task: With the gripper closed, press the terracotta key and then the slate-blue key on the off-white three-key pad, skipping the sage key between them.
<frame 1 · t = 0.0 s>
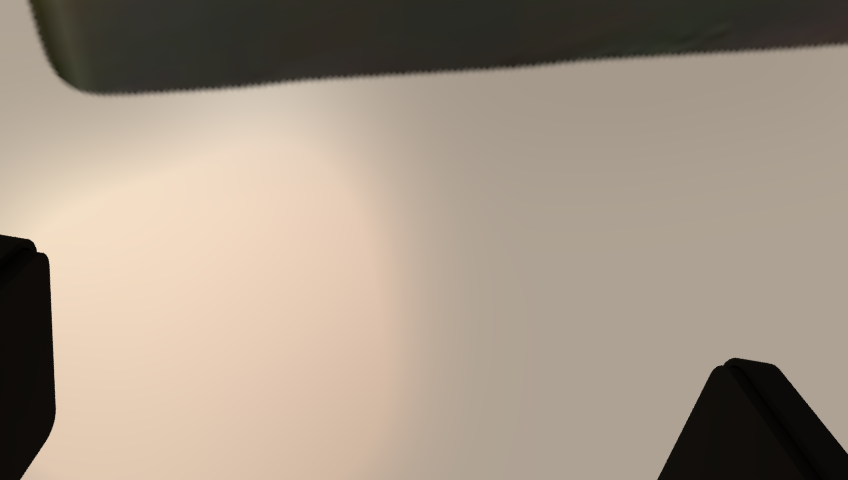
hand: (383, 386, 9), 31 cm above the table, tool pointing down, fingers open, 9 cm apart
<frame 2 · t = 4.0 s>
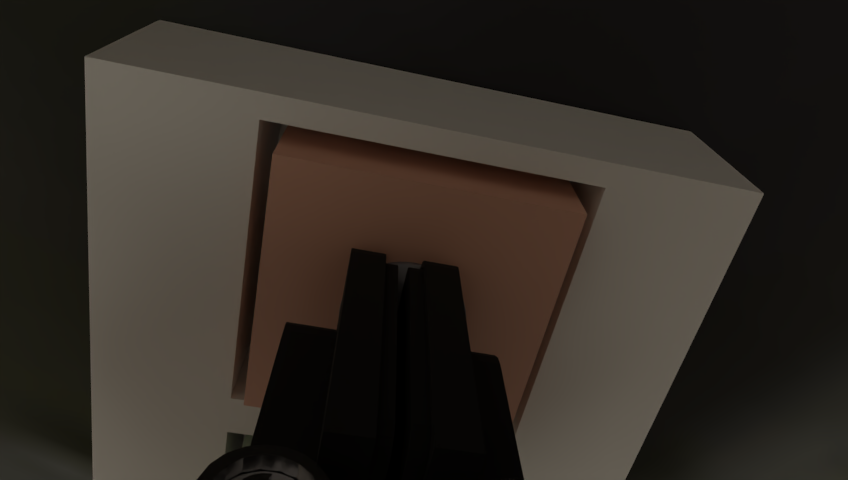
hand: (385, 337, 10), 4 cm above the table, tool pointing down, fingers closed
keypad: (356, 438, 16), on the table
terracotta key: (403, 279, 12), point 2 cm above the table, slide at 0.6 cm, touching gripper
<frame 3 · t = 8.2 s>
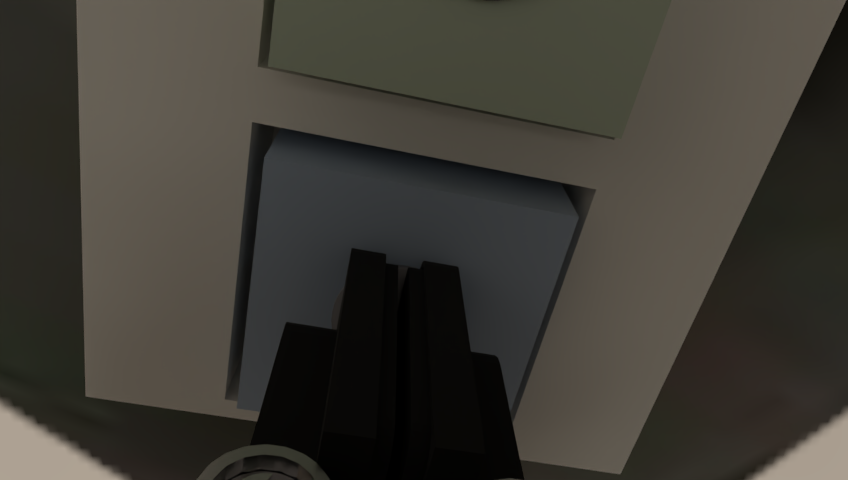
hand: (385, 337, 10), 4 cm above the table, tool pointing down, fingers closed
slate blue key: (396, 282, 12), point 2 cm above the table, slide at 0.5 cm, touching gripper
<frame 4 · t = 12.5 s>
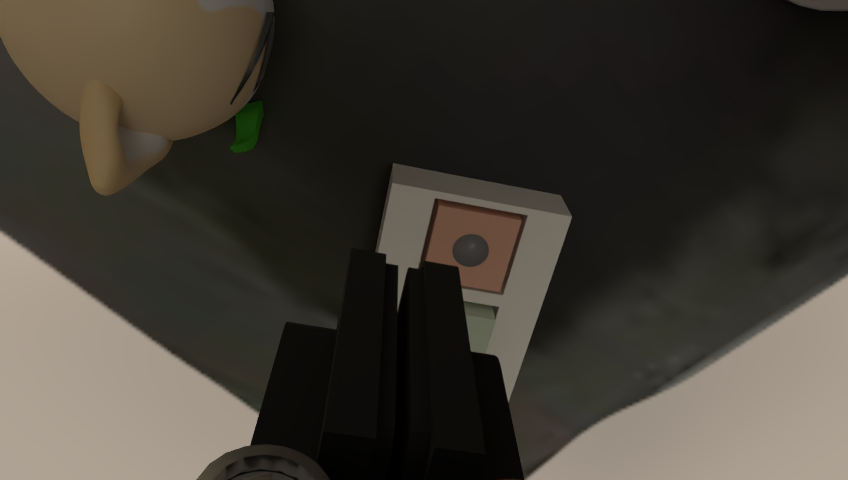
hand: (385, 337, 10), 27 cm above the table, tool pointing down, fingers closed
sage key: (446, 334, 40), point 3 cm above the table, slide at 0.0 cm
keypad: (443, 308, 42), on the table
terracotta key: (468, 240, 38), point 2 cm above the table, slide at 0.8 cm, touching keypad
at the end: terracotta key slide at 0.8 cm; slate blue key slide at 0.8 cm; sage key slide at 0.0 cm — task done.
